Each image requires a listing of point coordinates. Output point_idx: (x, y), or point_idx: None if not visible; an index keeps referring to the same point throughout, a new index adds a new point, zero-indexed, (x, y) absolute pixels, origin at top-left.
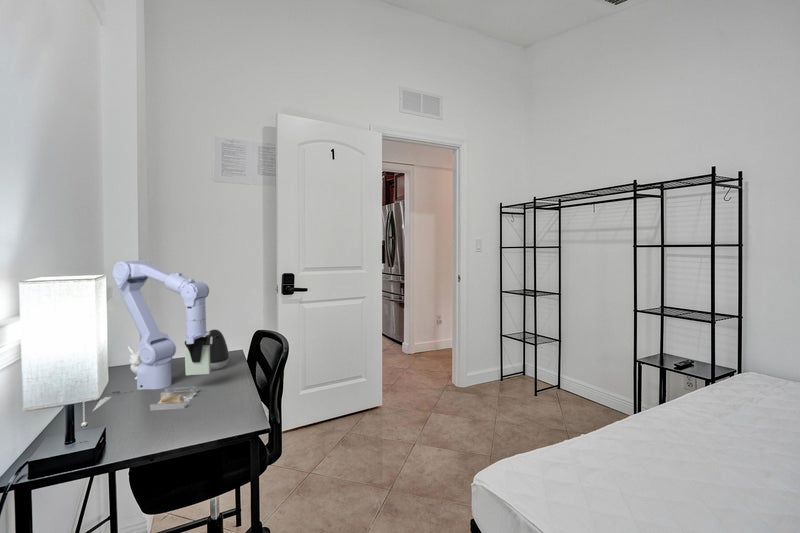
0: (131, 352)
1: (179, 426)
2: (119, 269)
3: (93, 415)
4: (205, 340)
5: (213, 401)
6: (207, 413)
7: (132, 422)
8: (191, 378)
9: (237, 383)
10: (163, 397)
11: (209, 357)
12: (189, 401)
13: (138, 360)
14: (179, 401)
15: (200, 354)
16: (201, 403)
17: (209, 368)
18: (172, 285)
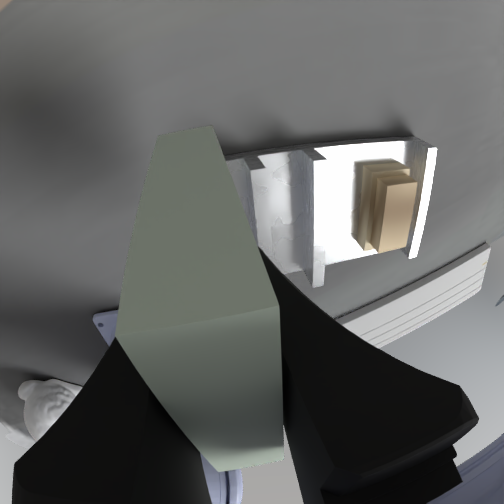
0: None
1: (496, 119)
2: None
3: None
4: (139, 483)
5: (333, 42)
6: (445, 50)
7: (437, 250)
8: (25, 288)
9: (49, 22)
10: (397, 243)
11: (175, 185)
12: (365, 143)
13: None
14: (406, 174)
15: (295, 290)
16: (350, 91)
17: (190, 139)
18: None
